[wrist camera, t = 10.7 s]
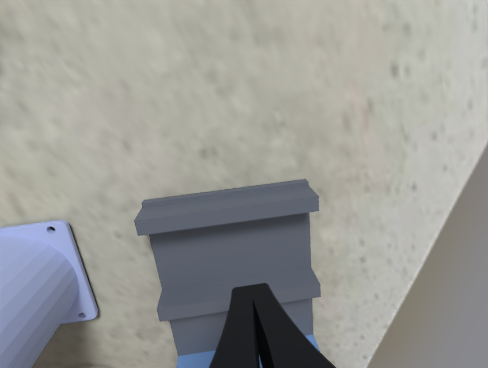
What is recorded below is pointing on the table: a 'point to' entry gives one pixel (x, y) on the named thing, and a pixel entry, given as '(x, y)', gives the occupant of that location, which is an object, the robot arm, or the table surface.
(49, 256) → the robot arm
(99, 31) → the table surface
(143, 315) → the table surface
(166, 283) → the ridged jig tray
